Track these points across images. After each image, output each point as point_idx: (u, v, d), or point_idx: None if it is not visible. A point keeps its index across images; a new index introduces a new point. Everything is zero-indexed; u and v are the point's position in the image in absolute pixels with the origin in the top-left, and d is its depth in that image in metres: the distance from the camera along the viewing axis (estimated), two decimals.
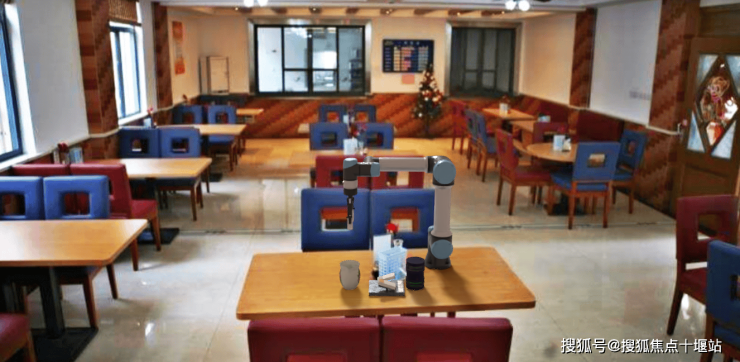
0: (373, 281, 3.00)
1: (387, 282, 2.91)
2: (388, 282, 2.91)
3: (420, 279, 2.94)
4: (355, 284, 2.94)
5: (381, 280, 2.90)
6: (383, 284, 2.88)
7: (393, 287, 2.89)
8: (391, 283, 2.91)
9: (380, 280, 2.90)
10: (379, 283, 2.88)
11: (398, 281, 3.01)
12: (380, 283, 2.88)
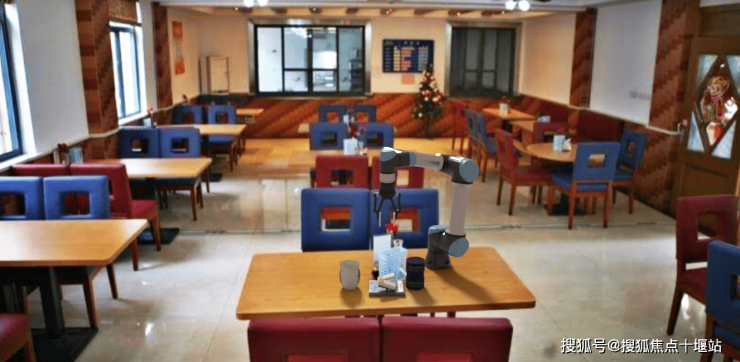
0: (373, 281, 3.00)
1: (387, 282, 2.91)
2: (388, 282, 2.91)
3: (420, 279, 2.94)
4: (355, 284, 2.94)
5: (381, 280, 2.90)
6: (383, 284, 2.88)
7: (393, 287, 2.89)
8: (391, 283, 2.91)
9: (380, 280, 2.90)
10: (379, 283, 2.88)
11: (398, 281, 3.01)
12: (380, 283, 2.88)
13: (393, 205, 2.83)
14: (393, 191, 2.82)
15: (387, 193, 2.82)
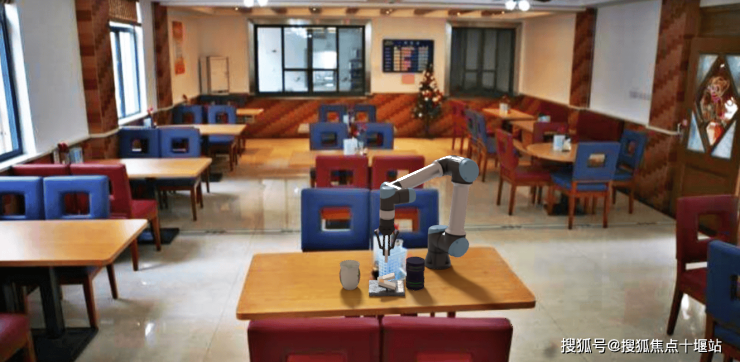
0: (373, 281, 3.00)
1: (387, 282, 2.91)
2: (388, 282, 2.91)
3: (420, 279, 2.94)
4: (355, 284, 2.94)
5: (381, 280, 2.90)
6: (383, 284, 2.88)
7: (393, 287, 2.89)
8: (391, 283, 2.91)
9: (380, 280, 2.90)
10: (379, 283, 2.88)
11: (398, 281, 3.01)
12: (380, 283, 2.88)
13: (388, 241, 2.88)
14: (392, 227, 2.86)
15: (387, 228, 2.86)
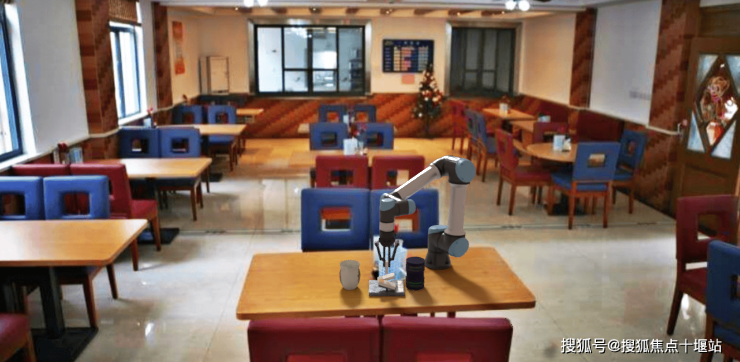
0: (373, 281, 3.00)
1: (387, 282, 2.91)
2: (388, 282, 2.91)
3: (420, 279, 2.94)
4: (355, 284, 2.94)
5: (381, 280, 2.90)
6: (383, 284, 2.88)
7: (393, 287, 2.89)
8: (391, 283, 2.91)
9: (380, 280, 2.90)
10: (379, 283, 2.88)
11: (398, 281, 3.01)
12: (380, 283, 2.88)
13: (389, 253, 2.89)
14: (392, 239, 2.88)
15: (387, 240, 2.88)
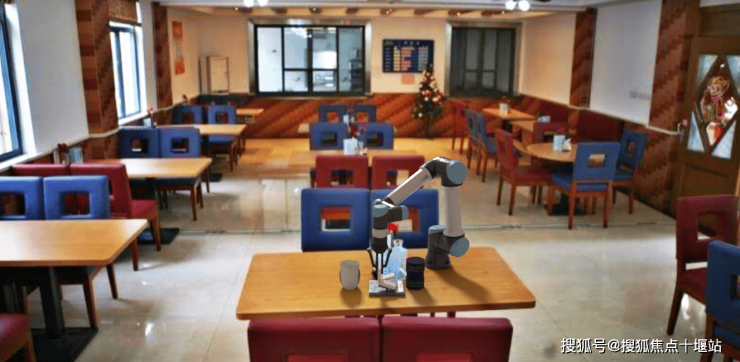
0: (373, 281, 3.00)
1: (387, 282, 2.91)
2: (388, 282, 2.91)
3: (420, 279, 2.94)
4: (355, 284, 2.94)
5: (381, 280, 2.90)
6: (383, 284, 2.88)
7: (393, 287, 2.89)
8: (391, 283, 2.91)
9: None
10: (379, 283, 2.88)
11: (398, 281, 3.01)
12: (380, 283, 2.88)
13: (381, 260, 2.86)
14: (385, 246, 2.85)
15: (380, 247, 2.85)
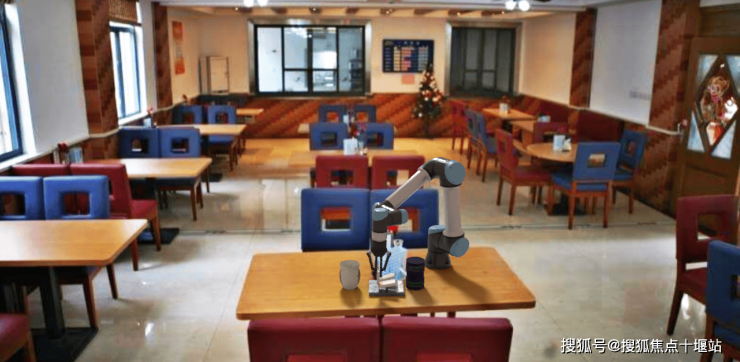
0: (373, 281, 3.00)
1: (386, 282, 2.91)
2: (387, 281, 2.91)
3: (420, 279, 2.94)
4: (355, 284, 2.94)
5: (380, 283, 2.91)
6: (383, 286, 2.89)
7: (393, 284, 2.88)
8: (390, 281, 2.91)
9: (379, 283, 2.90)
10: (379, 287, 2.89)
11: (398, 281, 3.01)
12: (380, 286, 2.89)
13: (380, 263, 2.87)
14: (385, 249, 2.85)
15: (379, 250, 2.85)
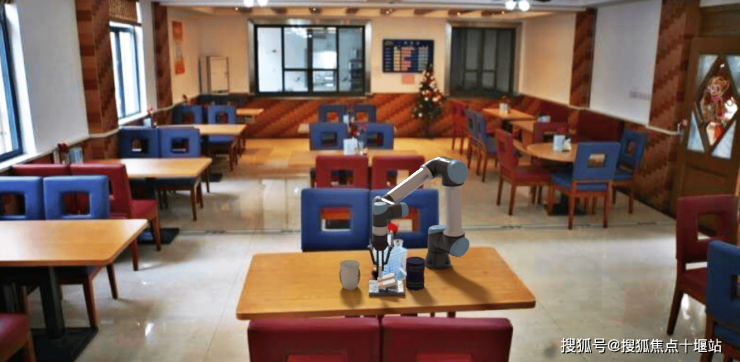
0: (373, 281, 3.00)
1: (386, 282, 2.91)
2: (387, 281, 2.91)
3: (420, 279, 2.94)
4: (355, 284, 2.94)
5: (380, 283, 2.91)
6: (383, 286, 2.89)
7: (393, 283, 2.88)
8: (390, 280, 2.91)
9: (379, 284, 2.90)
10: (379, 287, 2.89)
11: (398, 281, 3.01)
12: (380, 286, 2.89)
13: (382, 257, 2.86)
14: (386, 243, 2.84)
15: (380, 244, 2.84)
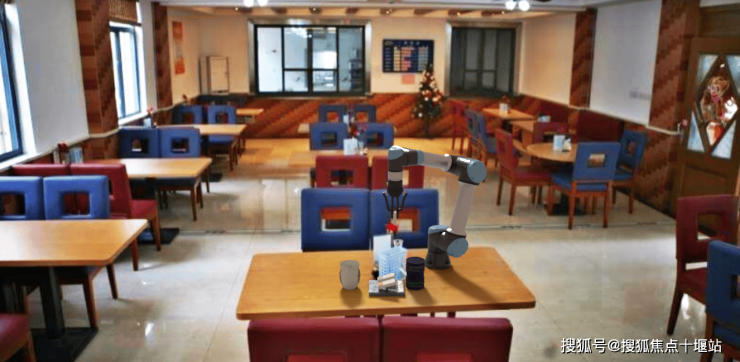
0: (373, 281, 3.00)
1: (386, 282, 2.91)
2: (387, 281, 2.91)
3: (420, 279, 2.94)
4: (355, 284, 2.94)
5: (380, 283, 2.91)
6: (383, 286, 2.89)
7: (393, 283, 2.88)
8: (390, 280, 2.91)
9: (379, 284, 2.90)
10: (379, 287, 2.89)
11: (398, 281, 3.01)
12: (380, 286, 2.89)
13: (397, 203, 2.87)
14: (401, 189, 2.85)
15: (395, 190, 2.86)
